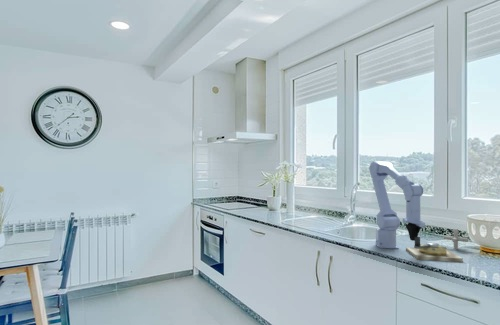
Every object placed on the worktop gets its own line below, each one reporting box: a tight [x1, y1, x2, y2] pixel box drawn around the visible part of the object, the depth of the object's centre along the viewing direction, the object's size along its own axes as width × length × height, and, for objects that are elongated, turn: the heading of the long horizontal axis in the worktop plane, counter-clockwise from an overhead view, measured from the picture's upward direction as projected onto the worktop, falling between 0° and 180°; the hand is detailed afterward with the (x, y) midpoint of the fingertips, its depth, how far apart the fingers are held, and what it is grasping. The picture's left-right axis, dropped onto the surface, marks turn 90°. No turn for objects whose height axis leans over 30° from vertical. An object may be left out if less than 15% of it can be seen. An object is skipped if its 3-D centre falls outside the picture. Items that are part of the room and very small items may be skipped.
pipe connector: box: [443, 228, 469, 250], centre depth 156 cm, size 10×10×10 cm
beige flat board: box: [405, 246, 464, 263], centre depth 144 cm, size 18×16×2 cm
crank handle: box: [413, 236, 448, 256], centre depth 143 cm, size 16×11×8 cm
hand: (413, 240), depth 144 cm, fingers closed
